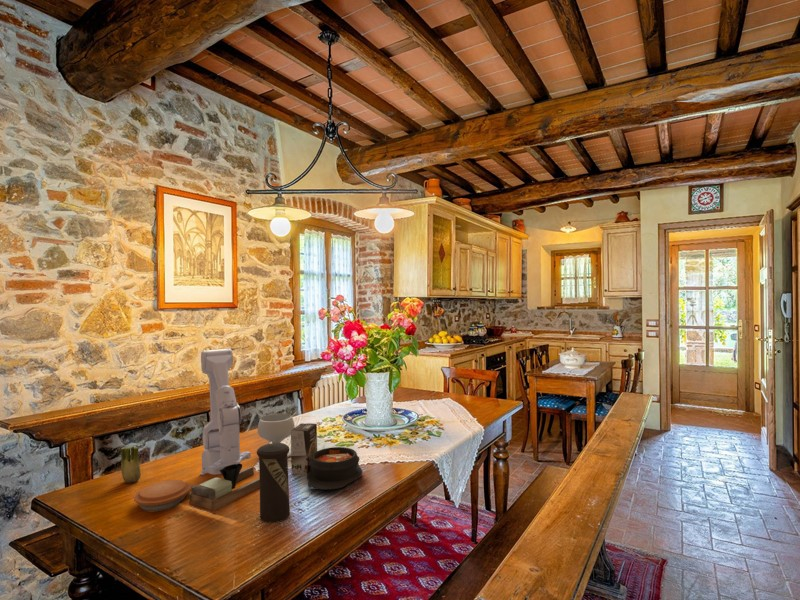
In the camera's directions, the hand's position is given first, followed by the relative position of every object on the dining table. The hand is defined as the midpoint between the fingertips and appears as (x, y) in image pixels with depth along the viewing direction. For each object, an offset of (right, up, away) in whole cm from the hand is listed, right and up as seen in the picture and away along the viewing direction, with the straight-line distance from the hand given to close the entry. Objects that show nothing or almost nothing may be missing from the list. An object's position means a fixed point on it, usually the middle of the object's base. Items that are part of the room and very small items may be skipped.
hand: (231, 488), depth 140 cm
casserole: (+31, -2, +11) cm, 33 cm away
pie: (-19, -3, -4) cm, 20 cm away
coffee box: (+20, -2, +17) cm, 26 cm away
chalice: (+5, -2, +34) cm, 35 cm away
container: (+18, -2, -14) cm, 23 cm away
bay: (+1, -2, +1) cm, 3 cm away
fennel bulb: (-39, -3, +12) cm, 41 cm away
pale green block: (-3, -1, -5) cm, 6 cm away
